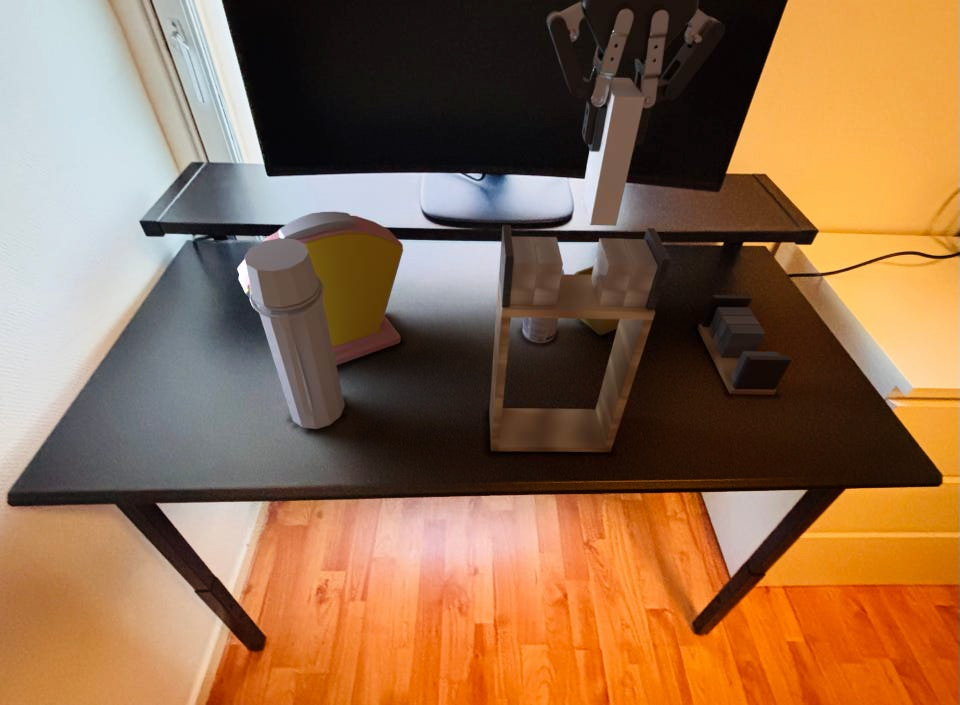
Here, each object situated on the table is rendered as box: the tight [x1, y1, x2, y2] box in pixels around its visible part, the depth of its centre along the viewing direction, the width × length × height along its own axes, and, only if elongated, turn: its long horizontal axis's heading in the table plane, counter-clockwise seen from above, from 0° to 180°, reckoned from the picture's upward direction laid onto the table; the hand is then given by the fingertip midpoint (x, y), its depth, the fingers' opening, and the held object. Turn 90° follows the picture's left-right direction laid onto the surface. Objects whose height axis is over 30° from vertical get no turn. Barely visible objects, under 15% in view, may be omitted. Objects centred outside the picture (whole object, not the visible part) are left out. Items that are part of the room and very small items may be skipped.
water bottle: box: [243, 238, 345, 430], centre depth 64 cm, size 9×8×25 cm
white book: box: [580, 77, 645, 227], centre depth 47 cm, size 2×5×11 cm, turn 1°
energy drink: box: [522, 268, 565, 344], centre depth 83 cm, size 5×5×12 cm
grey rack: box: [697, 294, 793, 396], centre depth 81 cm, size 15×7×7 cm, turn 1°
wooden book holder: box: [498, 224, 671, 320], centre depth 54 cm, size 16×7×7 cm, turn 91°
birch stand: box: [489, 280, 654, 453], centre depth 64 cm, size 16×7×22 cm, turn 91°
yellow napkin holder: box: [237, 211, 404, 366], centre depth 76 cm, size 22×9×22 cm, turn 122°
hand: (610, 148), depth 46 cm, fingers closed on white book, 2 cm apart
